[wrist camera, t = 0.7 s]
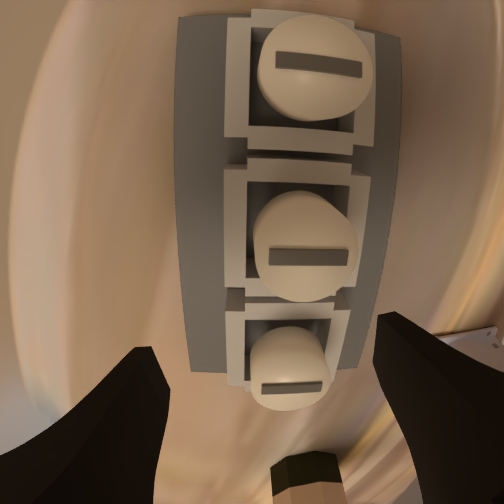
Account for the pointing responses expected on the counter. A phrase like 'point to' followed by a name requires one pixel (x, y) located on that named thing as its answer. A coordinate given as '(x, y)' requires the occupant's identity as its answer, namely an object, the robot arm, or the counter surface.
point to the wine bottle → (307, 480)
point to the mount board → (273, 190)
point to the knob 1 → (314, 69)
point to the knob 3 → (288, 369)
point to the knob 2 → (303, 247)
